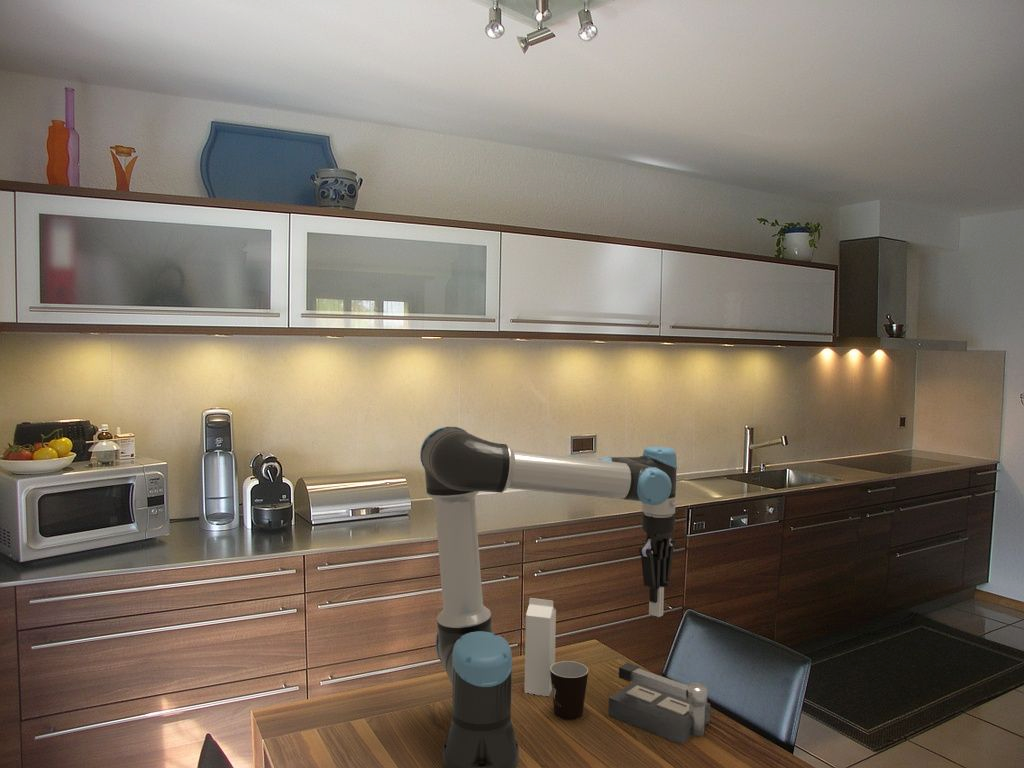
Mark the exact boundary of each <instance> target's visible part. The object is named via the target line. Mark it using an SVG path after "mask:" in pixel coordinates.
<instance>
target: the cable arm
mask: <svg viewBox="0 0 1024 768" xmlns="http://www.w3.org/2000/svg"><path fill="white" fill-rule="evenodd" d="M618 678H619V679H621V680H623V681H624V680H625V681H627V682H629V683H630V682H631V683H632V682H635V681H636V682H638V683H641V684H644V685H647V686H649V687H652V688H655V689H658V690H661V691H663V692H666V693H669V694H672V695H674V696H677V697H680V698H683V699H687V698H688V702H690V703H691V704H694V705H705V704H706V703H708V687H707V685H705V684H704V683H701V682H690V683H689V684H685V683H682V682H679V681H677V680H673V679H670V678H668V677H664V676H663V675H662V676H661V675H659V674H656V673H652V672H650V671H647V670H644V669H642V668H640V666H639V665H635V664H633V663H630V662H626V663H624V664H622V665H621V666H619V667H618Z"/></svg>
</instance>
